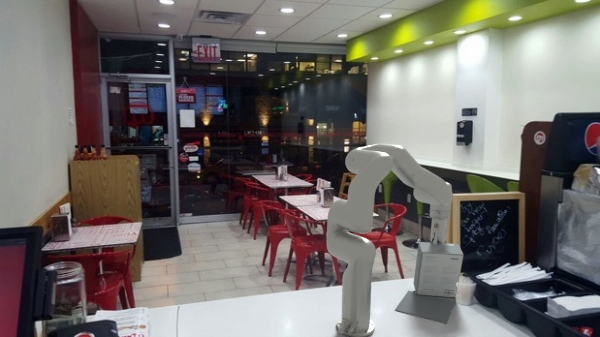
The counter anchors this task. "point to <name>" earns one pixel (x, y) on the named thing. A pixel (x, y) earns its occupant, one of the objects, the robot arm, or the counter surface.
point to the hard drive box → (437, 269)
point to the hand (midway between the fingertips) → (436, 257)
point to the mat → (426, 307)
